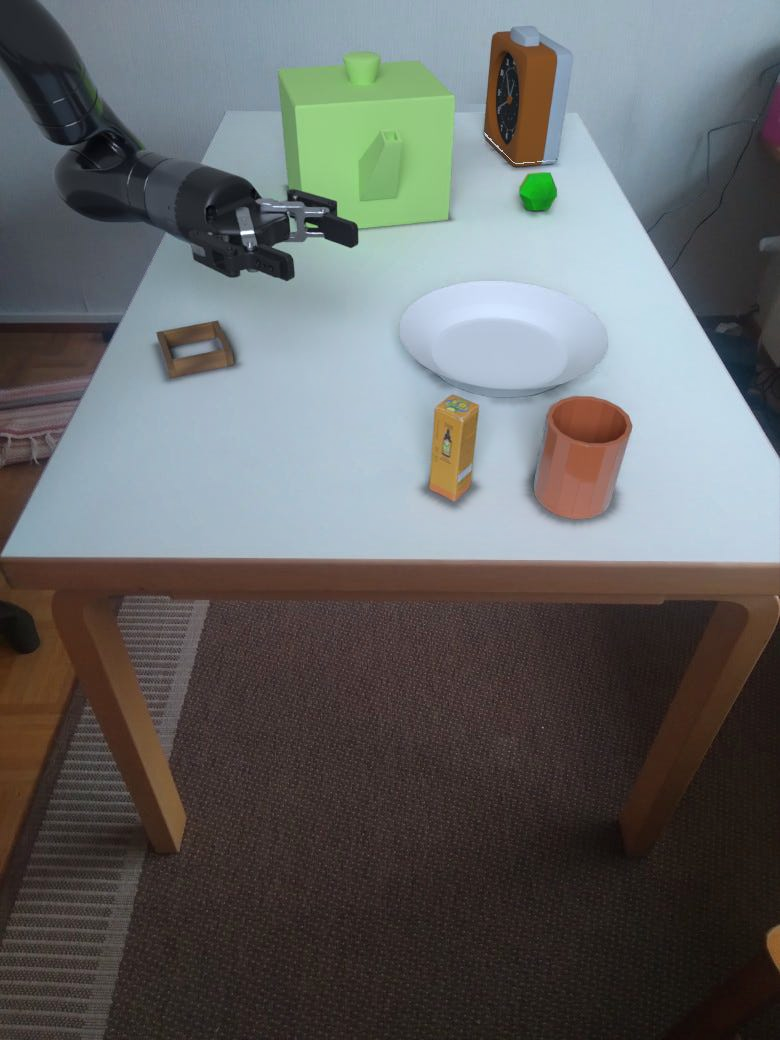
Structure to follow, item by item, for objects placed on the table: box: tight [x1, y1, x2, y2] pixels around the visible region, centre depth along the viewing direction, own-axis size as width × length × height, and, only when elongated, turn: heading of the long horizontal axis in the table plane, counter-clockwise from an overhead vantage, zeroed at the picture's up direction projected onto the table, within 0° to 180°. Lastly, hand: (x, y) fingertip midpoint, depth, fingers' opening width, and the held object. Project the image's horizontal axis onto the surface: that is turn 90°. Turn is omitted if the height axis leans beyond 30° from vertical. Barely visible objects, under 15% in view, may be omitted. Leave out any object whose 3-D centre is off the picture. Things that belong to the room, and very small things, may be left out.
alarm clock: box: [483, 25, 574, 168], centre depth 135 cm, size 18×9×21 cm, turn 14°
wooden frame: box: [155, 319, 235, 379], centre depth 90 cm, size 8×8×2 cm
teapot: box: [277, 50, 456, 230], centre depth 116 cm, size 24×35×22 cm
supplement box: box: [428, 394, 480, 503], centre depth 70 cm, size 3×3×10 cm
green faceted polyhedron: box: [518, 171, 558, 211], centre depth 122 cm, size 7×6×9 cm
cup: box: [533, 395, 633, 520], centre depth 70 cm, size 8×8×9 cm
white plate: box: [398, 280, 609, 399], centre depth 90 cm, size 25×25×4 cm
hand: (325, 252), depth 65 cm, fingers open, 8 cm apart
